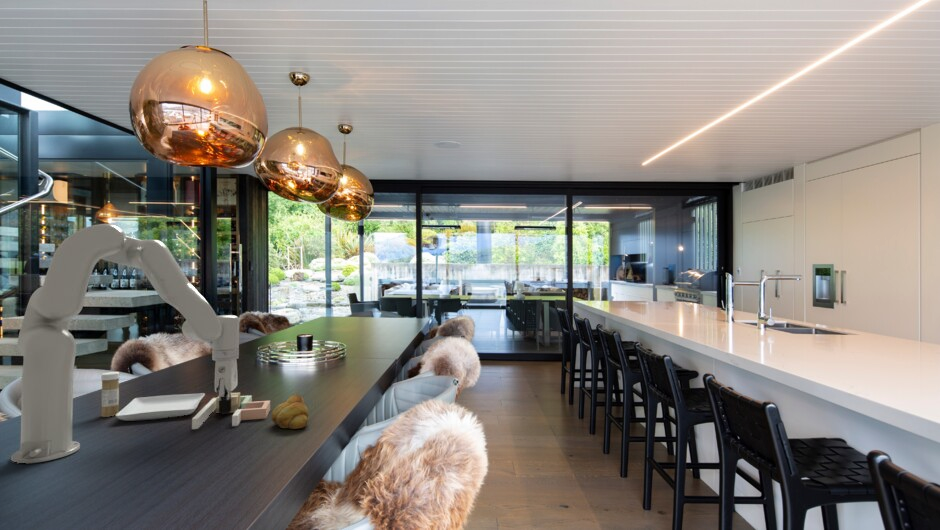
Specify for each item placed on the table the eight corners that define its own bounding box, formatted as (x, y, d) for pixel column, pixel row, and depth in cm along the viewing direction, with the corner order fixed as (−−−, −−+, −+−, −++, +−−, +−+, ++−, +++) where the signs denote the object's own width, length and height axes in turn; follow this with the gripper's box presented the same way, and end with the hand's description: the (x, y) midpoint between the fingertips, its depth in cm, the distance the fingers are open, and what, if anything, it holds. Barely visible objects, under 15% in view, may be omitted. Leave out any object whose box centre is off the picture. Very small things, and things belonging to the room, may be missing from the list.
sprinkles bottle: (118, 412, 152) (119, 370, 153) (119, 415, 149) (120, 373, 149) (100, 415, 149) (101, 372, 150) (100, 418, 146) (101, 374, 146)
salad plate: (195, 418, 147) (195, 407, 147) (113, 426, 139) (113, 414, 140) (205, 401, 167) (205, 391, 167) (134, 407, 159) (134, 397, 159)
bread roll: (314, 428, 137) (315, 400, 137) (280, 435, 131) (280, 406, 131) (300, 417, 147) (300, 392, 147) (267, 423, 141) (268, 396, 141)
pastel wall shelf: (263, 423, 141) (263, 413, 141) (191, 429, 135) (192, 418, 136) (273, 402, 164) (273, 393, 164) (213, 406, 159) (213, 397, 159)
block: (236, 412, 152) (236, 396, 153) (216, 413, 151) (216, 398, 151) (240, 407, 158) (240, 392, 158) (220, 408, 156) (220, 393, 157)
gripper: (233, 357, 143) (232, 418, 143) (243, 350, 158) (242, 405, 157) (206, 358, 141) (205, 420, 141) (218, 351, 156) (217, 406, 155)
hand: (225, 412), depth 149 cm, fingers closed
